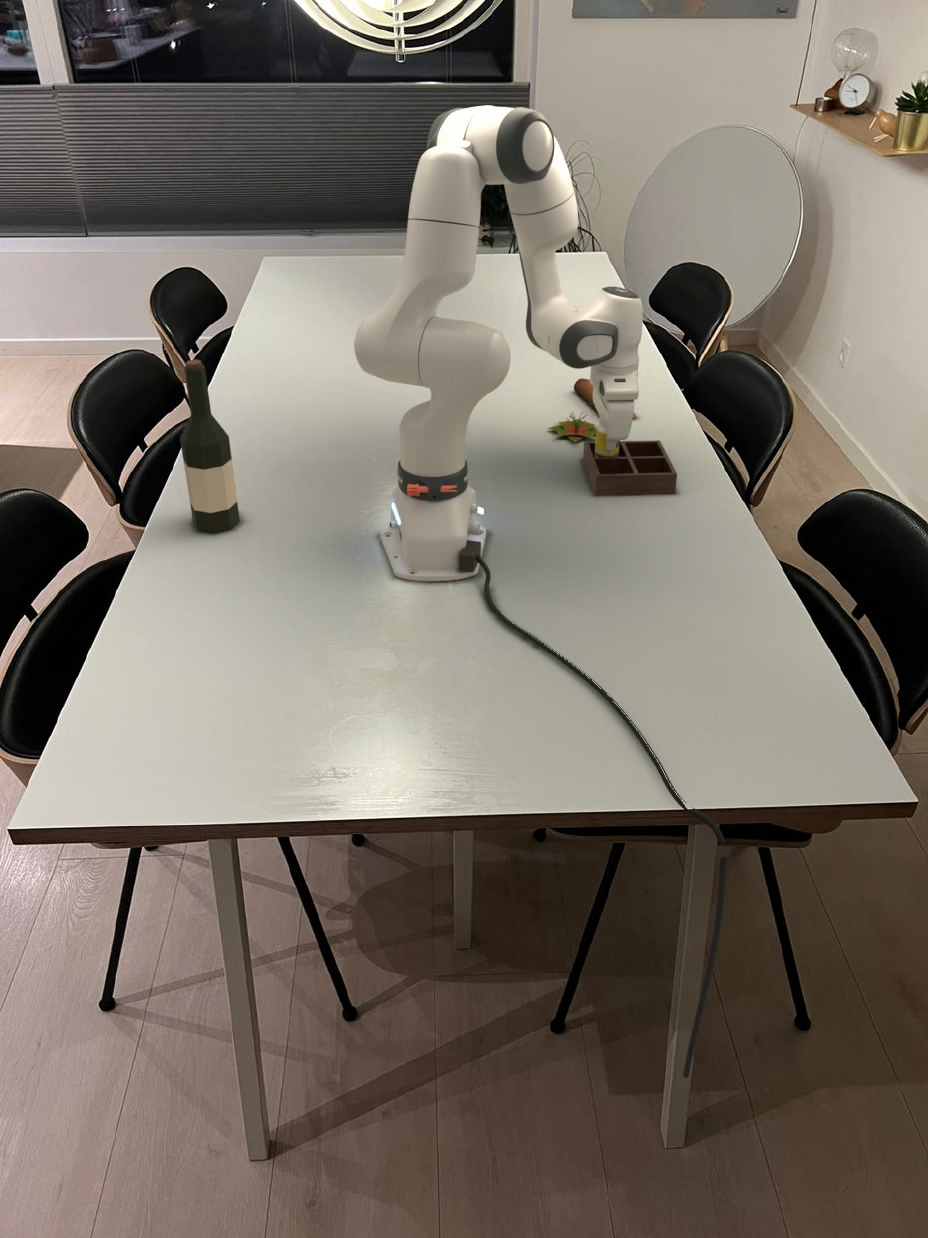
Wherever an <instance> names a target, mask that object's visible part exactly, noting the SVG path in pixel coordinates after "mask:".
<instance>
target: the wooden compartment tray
mask: <svg viewBox="0 0 928 1238" xmlns="http://www.w3.org/2000/svg"><path fill="white" fill-rule="evenodd" d="M595 443H596V441H584V442H583V448H582V449H583V452H582V462H583V465H584V468H585V471H586V474H587V477H588V479H589V482H590V485H591V487H592V491H593V493H594V495H595V496H623V495H624V496H625V495H626V496H628V495H629V496H630V495H666V494H667V495H668V494H669V495H671V494H676V488H677V481H678V473H677V471H676V469H675V467H674V464H673V463H672V461H671V459H670V456H669V455H668V453H667V451H666V449H665V447H664V445H663V444H662V442H661V440H658V439H657V440H620V444H619V454H618V457H595V455H594V453H595Z"/></svg>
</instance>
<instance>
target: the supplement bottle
mask: <svg viewBox="0 0 928 1238" xmlns="http://www.w3.org/2000/svg"><path fill="white" fill-rule="evenodd" d="M596 429H597V432H596V434H595V442H596V443H595V453H594V455H595V457H618V454H619V444H620V441H621V440H617V442H616V449H615V450H607V449H606V446H605V444H606V439H607V432H606V430H605V427H604V425H603V423H602V420H601V417H599V420H598V424H597V425H596Z"/></svg>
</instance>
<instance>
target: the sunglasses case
mask: <svg viewBox="0 0 928 1238" xmlns="http://www.w3.org/2000/svg"><path fill="white" fill-rule="evenodd" d="M573 390H574V392H575V393H576V394H577V395H579V397H581V398H582V399H584V400H585V401H586V402H587V403H588V404H589V405H590V406H591V407H592V408H593V409H594V410H595V411H596V412H597V413H598V411H597V409H596V407H595V404H594V402H593V386H592V385H591V384H590V378H583V377H582V378H578V379H577V380H576V382H575V383H574V384H573ZM636 418H637V415H636V413H635V412H634V413H633V419H636ZM633 419H632V420H633Z"/></svg>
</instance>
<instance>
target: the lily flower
mask: <svg viewBox="0 0 928 1238" xmlns="http://www.w3.org/2000/svg"><path fill="white" fill-rule="evenodd" d="M583 413H584V411H582V413H581V414H580V415H579V417H578V418H576V415H575V413H574V411H572V413H571V412H570V413H569V418H571V420H570V419H569V418H568V417H566V420H563V421H558V425H554V426H551V427H546V429H547V430H552V431H555V432H557V433H556V434H557V435H556V436H555V438H560V437H563V436H567V438H568V439H569V440H570V441H572V442H573V443H574V444H576V442H578V441H580V440H582V439H584V438H588V439H590V440H593V441H596V437H595V435H596V432H597V427H596V428H595V426H597V424H595V423H593V422H590V421H587V420H584V419H585V418H586V417H587V416H588V414H585V415H583ZM582 415H583V416H582Z"/></svg>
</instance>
